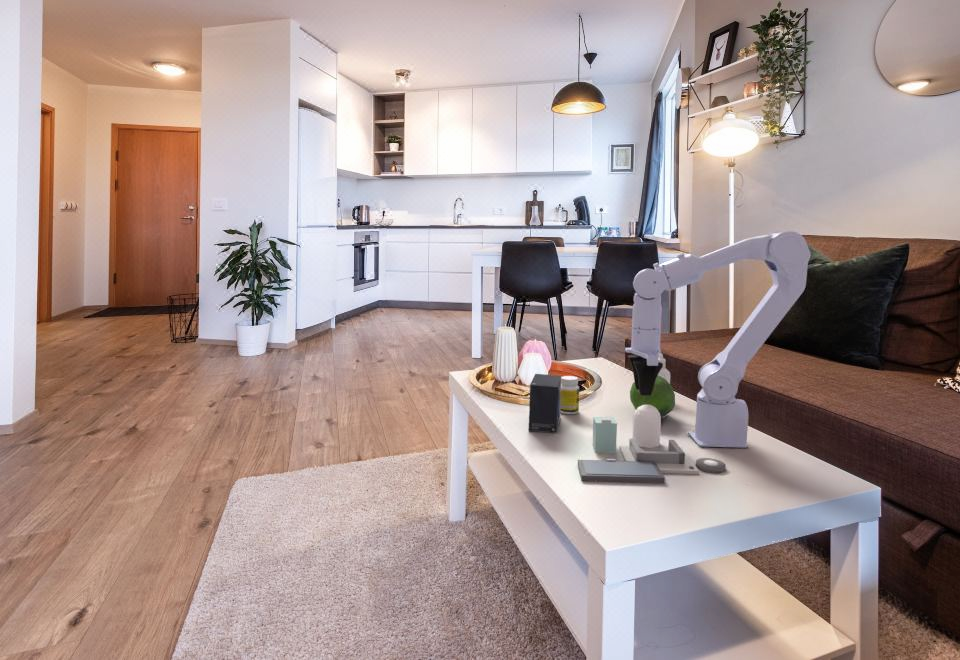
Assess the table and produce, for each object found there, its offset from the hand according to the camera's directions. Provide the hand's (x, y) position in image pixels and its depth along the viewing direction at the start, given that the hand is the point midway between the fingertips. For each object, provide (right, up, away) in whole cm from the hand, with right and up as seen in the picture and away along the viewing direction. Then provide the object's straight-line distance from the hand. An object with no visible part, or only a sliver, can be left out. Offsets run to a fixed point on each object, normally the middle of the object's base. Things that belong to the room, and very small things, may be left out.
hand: (643, 392), depth 119 cm
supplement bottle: (-13, -7, +18) cm, 23 cm away
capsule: (0, -10, -3) cm, 11 cm away
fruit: (+6, -7, +15) cm, 18 cm away
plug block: (-10, -11, -6) cm, 16 cm away
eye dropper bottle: (+12, -5, +28) cm, 31 cm away
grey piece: (-1, -12, -12) cm, 17 cm away
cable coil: (+8, -12, -15) cm, 21 cm away
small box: (-20, -8, +8) cm, 23 cm away
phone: (-9, -13, -18) cm, 24 cm away
